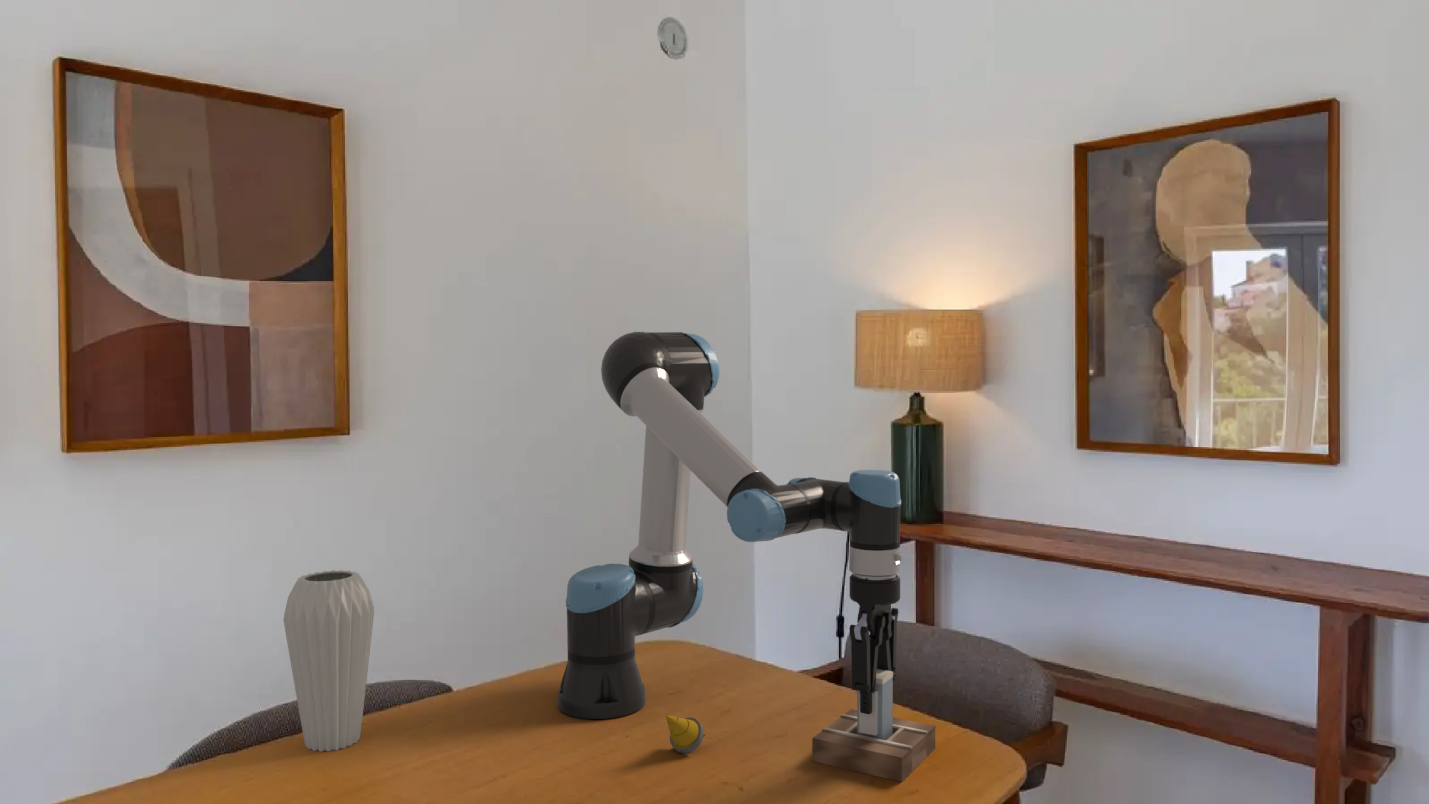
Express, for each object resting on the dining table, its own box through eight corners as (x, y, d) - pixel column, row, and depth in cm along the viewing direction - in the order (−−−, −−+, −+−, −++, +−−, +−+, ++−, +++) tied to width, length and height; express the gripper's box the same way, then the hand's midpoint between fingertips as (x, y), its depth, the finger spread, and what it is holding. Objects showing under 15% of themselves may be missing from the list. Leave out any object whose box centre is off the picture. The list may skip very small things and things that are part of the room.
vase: (395, 733, 158) (392, 571, 157) (331, 764, 146) (327, 589, 145) (334, 721, 164) (330, 564, 162) (267, 750, 152) (262, 581, 150)
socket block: (812, 761, 146) (812, 736, 146) (851, 730, 158) (850, 707, 158) (901, 782, 139) (901, 755, 138) (935, 748, 151) (935, 723, 150)
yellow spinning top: (714, 754, 150) (683, 725, 144) (683, 766, 151) (651, 737, 145) (709, 723, 154) (680, 693, 148) (679, 735, 155) (649, 706, 149)
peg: (856, 740, 147) (856, 674, 147) (867, 731, 151) (867, 667, 151) (882, 746, 145) (882, 679, 145) (892, 736, 149) (893, 671, 148)
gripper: (876, 588, 138) (875, 752, 139) (918, 566, 152) (918, 714, 153) (827, 582, 142) (827, 742, 143) (873, 561, 156) (873, 706, 157)
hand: (874, 727), depth 148 cm, fingers closed on peg, 4 cm apart
